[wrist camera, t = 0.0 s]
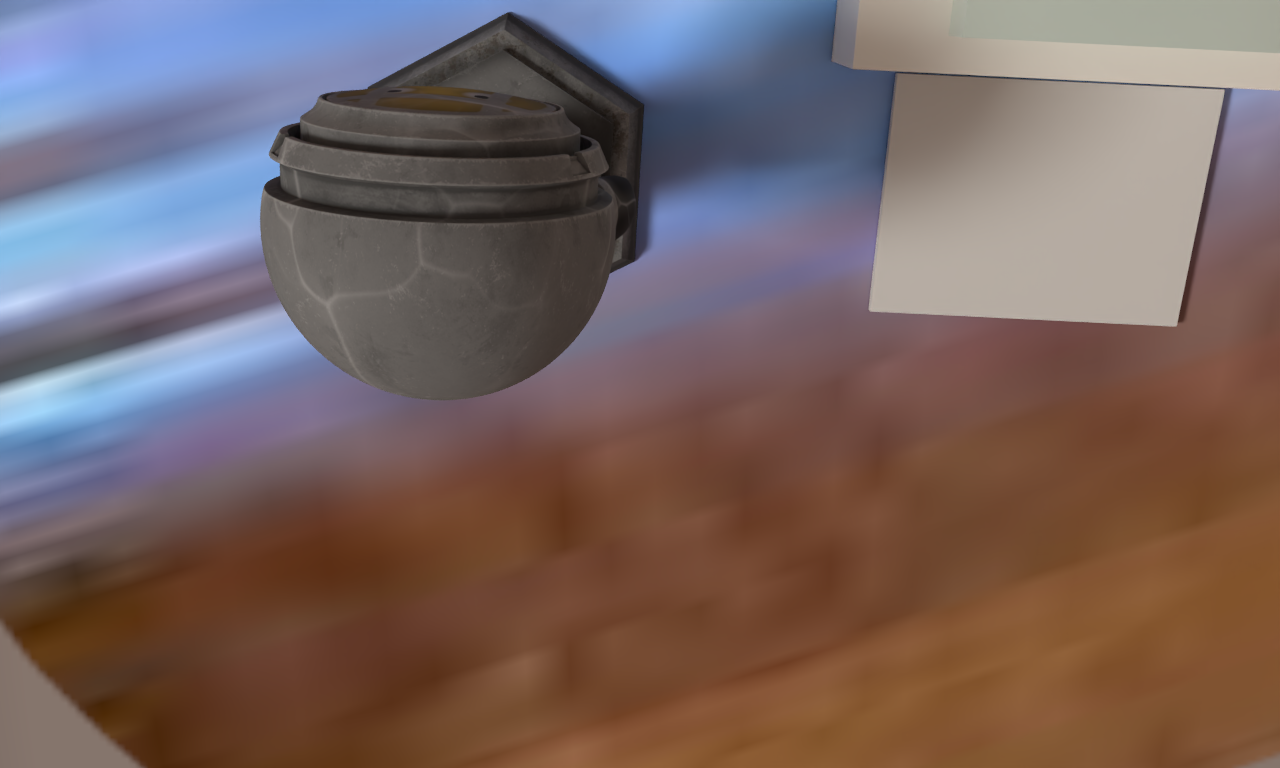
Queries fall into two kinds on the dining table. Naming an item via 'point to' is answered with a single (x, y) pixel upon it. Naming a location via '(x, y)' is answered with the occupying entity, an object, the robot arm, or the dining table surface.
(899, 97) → the pad
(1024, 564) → the dining table surface
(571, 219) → the figurine
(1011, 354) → the dining table surface
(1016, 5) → the cover
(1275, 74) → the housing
